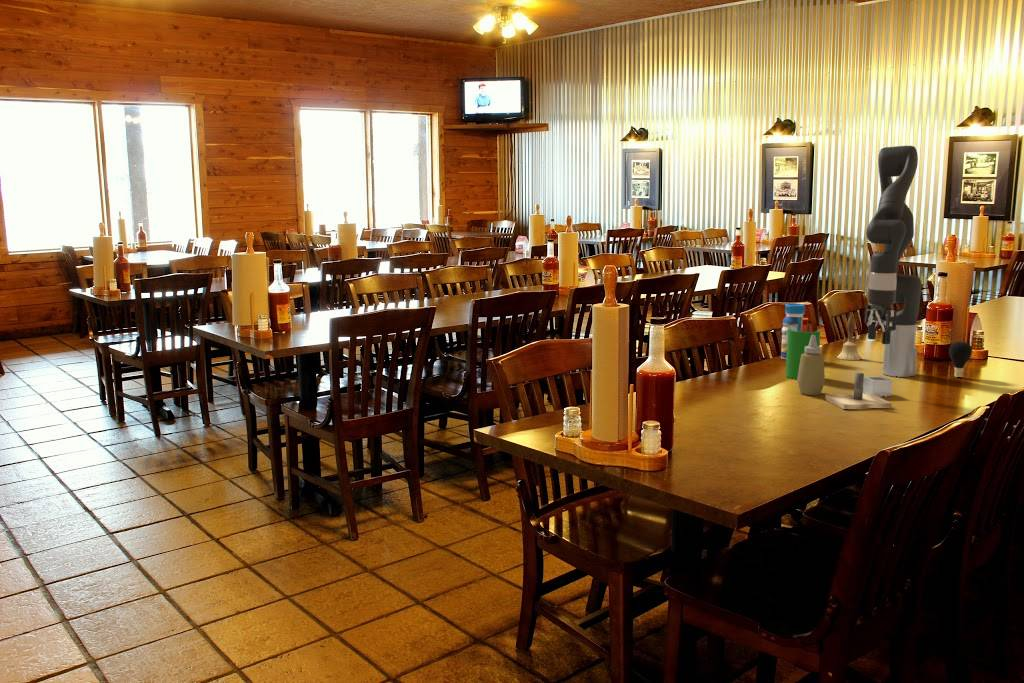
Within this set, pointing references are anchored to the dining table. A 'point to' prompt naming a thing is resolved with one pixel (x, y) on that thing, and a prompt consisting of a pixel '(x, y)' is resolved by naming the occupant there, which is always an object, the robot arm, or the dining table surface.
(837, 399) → the stand
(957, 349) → the light bulb
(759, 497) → the dining table surface
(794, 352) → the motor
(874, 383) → the collar
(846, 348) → the hand bell
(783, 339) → the beverage bottle
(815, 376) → the squeeze bottle
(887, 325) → the robot arm
